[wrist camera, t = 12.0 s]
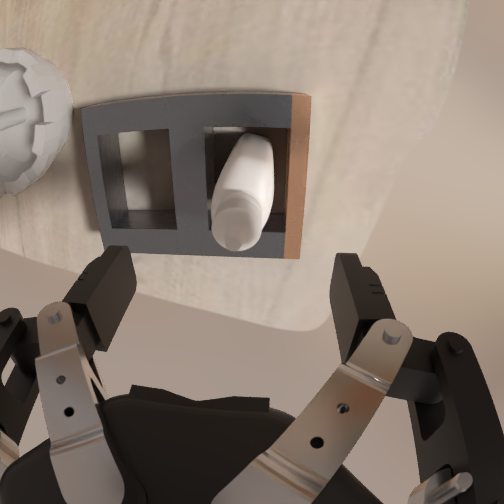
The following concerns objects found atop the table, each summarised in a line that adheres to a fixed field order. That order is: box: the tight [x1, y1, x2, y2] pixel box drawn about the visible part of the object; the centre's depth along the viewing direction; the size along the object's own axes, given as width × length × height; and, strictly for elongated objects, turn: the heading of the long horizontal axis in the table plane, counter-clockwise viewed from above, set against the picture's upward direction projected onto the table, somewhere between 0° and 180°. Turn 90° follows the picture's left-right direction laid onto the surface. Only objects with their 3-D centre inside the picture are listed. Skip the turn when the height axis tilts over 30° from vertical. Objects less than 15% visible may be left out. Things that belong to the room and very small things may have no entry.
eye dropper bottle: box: [211, 133, 274, 251], centre depth 19 cm, size 4×6×12 cm
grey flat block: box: [81, 92, 311, 259], centre depth 23 cm, size 12×16×4 cm
